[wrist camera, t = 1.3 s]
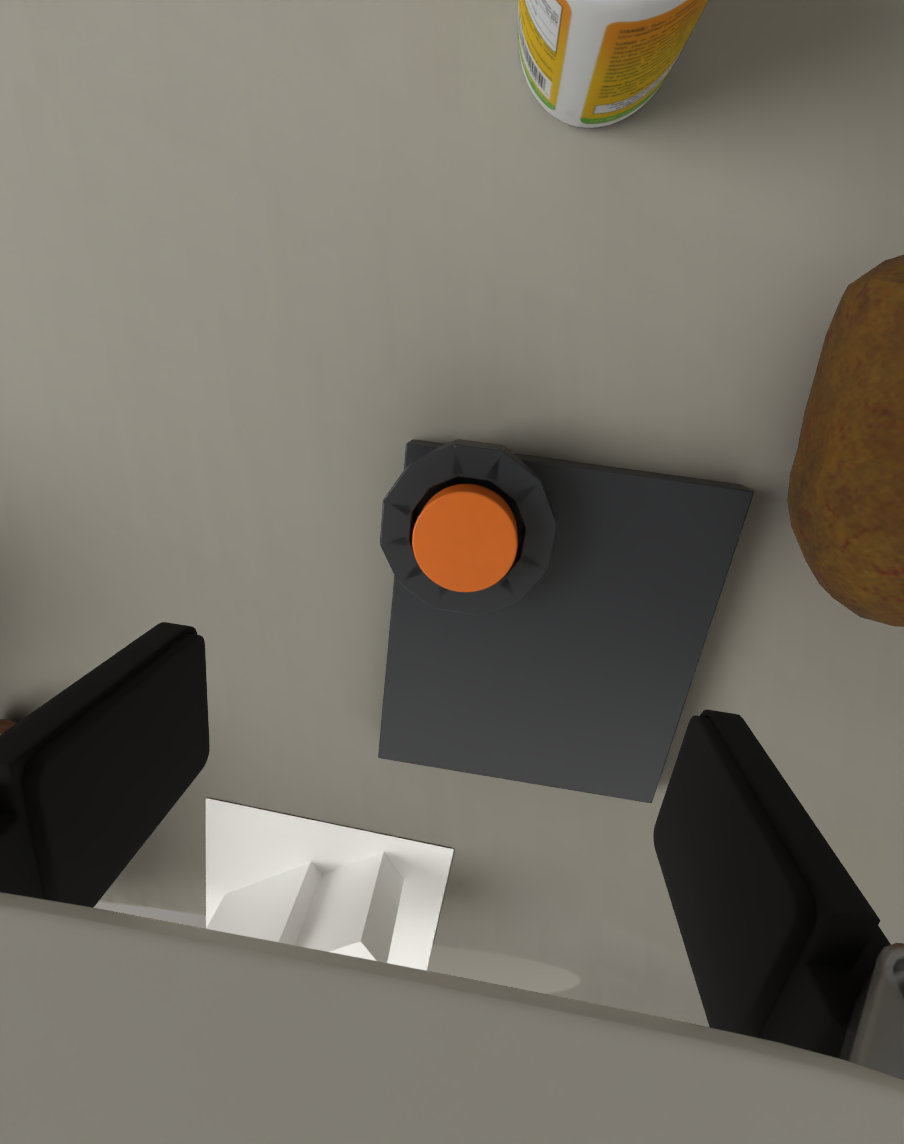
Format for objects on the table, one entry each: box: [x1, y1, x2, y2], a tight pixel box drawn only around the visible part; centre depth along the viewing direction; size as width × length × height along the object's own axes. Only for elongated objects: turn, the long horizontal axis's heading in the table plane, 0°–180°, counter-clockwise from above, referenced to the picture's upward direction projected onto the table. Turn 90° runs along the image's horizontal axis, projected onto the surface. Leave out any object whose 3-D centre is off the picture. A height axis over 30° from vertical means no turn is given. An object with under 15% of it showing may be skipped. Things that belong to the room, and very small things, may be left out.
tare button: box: [412, 484, 518, 592], centre depth 21 cm, size 4×4×2 cm
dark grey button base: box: [378, 439, 754, 803], centre depth 24 cm, size 16×14×3 cm
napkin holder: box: [206, 798, 454, 971], centre depth 31 cm, size 15×11×6 cm
